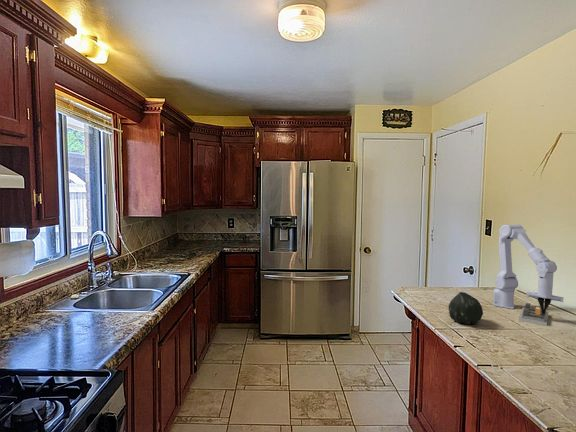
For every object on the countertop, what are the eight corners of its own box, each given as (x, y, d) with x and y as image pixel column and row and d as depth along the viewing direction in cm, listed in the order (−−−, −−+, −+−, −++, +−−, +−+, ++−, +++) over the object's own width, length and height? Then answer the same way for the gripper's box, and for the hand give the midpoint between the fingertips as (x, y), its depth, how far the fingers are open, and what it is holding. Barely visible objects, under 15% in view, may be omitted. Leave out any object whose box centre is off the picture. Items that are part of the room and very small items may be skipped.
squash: (489, 309, 176) (467, 283, 180) (489, 320, 163) (465, 292, 167) (463, 324, 182) (442, 299, 186) (461, 335, 169) (439, 308, 173)
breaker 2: (523, 316, 179) (523, 309, 178) (523, 314, 180) (524, 308, 180) (528, 317, 177) (528, 310, 177) (528, 315, 179) (528, 309, 179)
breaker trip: (535, 315, 180) (535, 308, 180) (535, 313, 182) (535, 306, 182) (540, 316, 179) (540, 308, 179) (540, 314, 181) (540, 307, 181)
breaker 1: (525, 310, 187) (525, 304, 187) (525, 309, 189) (526, 302, 189) (529, 311, 186) (530, 304, 186) (530, 310, 188) (530, 303, 188)
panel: (518, 320, 177) (518, 316, 177) (522, 310, 193) (522, 306, 192) (546, 325, 171) (546, 321, 171) (548, 315, 186) (548, 310, 186)
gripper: (526, 285, 179) (525, 312, 180) (564, 290, 171) (562, 319, 172) (527, 282, 185) (526, 309, 186) (564, 287, 176) (562, 315, 177)
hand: (543, 313), depth 179 cm, fingers closed
